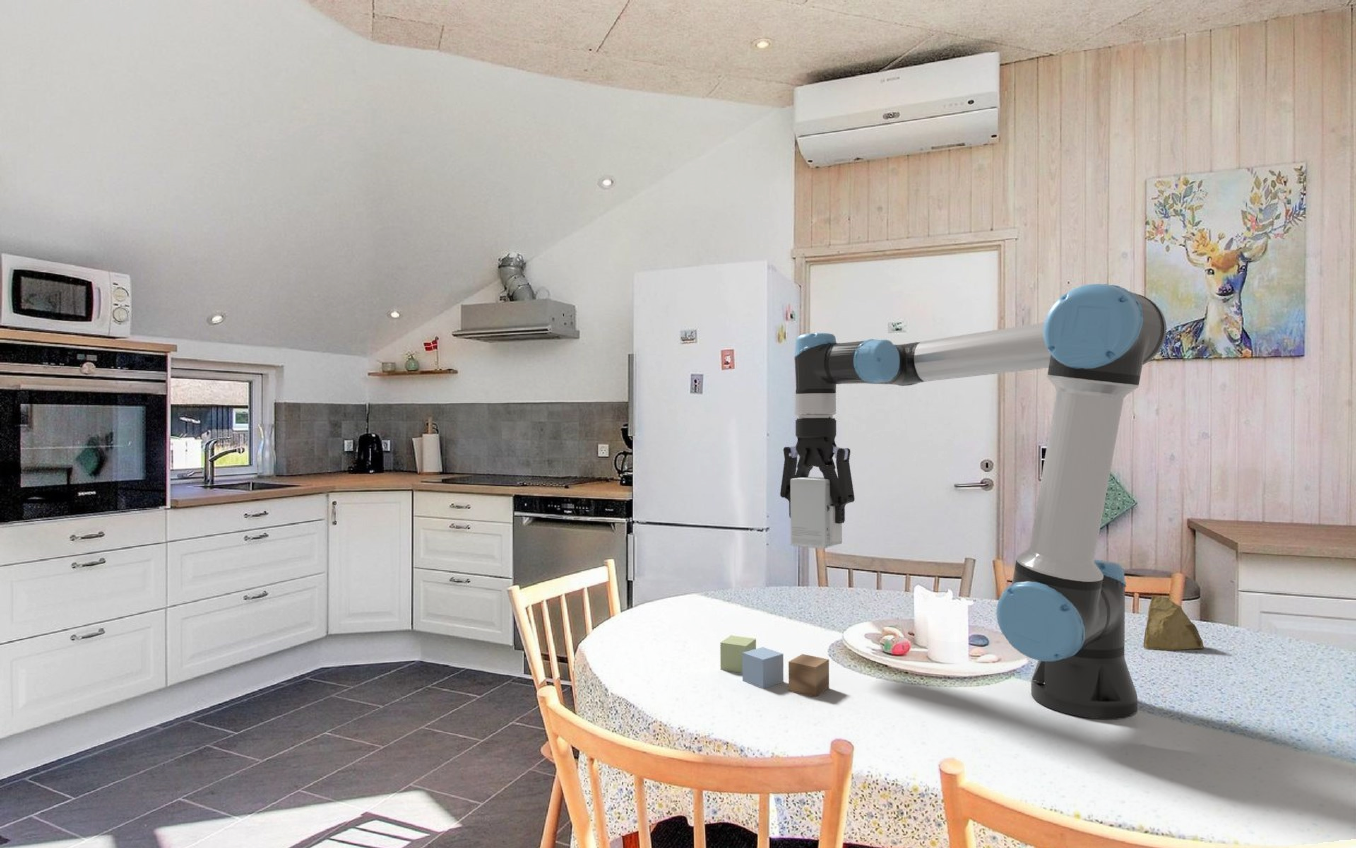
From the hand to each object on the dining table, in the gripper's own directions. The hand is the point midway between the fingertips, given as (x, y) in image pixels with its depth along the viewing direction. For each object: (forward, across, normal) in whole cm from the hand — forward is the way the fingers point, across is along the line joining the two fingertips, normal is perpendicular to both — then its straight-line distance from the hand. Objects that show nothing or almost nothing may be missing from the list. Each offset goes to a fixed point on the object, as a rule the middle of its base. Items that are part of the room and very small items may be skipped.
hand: (816, 538), depth 144 cm
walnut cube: (+23, -8, +13) cm, 28 cm away
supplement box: (+1, 0, 0) cm, 1 cm away
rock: (+24, -44, -57) cm, 76 cm away
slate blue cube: (+23, 0, +16) cm, 28 cm away
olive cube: (+23, +8, +13) cm, 28 cm away
